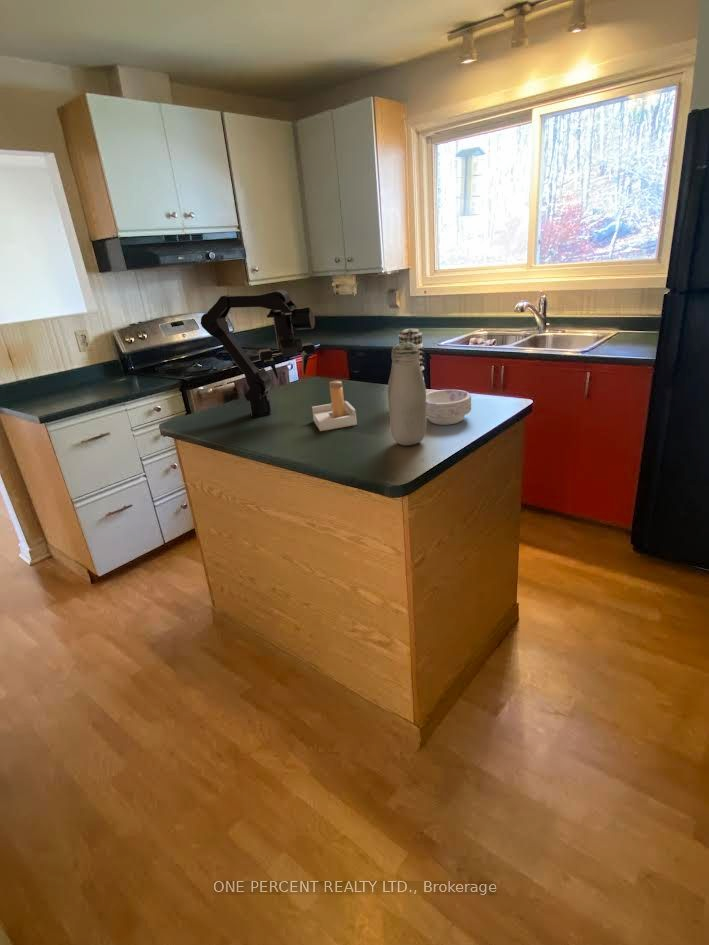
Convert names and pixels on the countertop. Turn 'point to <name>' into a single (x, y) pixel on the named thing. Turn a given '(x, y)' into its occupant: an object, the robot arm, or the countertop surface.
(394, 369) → the light grey bottle
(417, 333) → the decorative candle
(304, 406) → the countertop surface
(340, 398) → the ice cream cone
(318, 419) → the housing
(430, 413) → the paper bowls
